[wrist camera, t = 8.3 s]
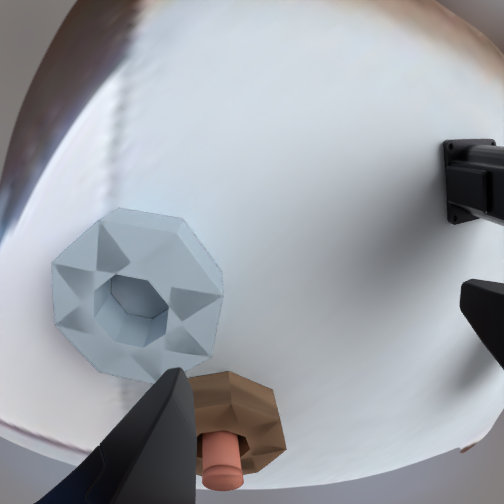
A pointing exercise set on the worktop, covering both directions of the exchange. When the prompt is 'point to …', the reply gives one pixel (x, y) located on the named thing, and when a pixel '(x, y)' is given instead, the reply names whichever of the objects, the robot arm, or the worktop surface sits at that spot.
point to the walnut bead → (238, 417)
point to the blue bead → (147, 268)
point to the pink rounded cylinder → (221, 461)
